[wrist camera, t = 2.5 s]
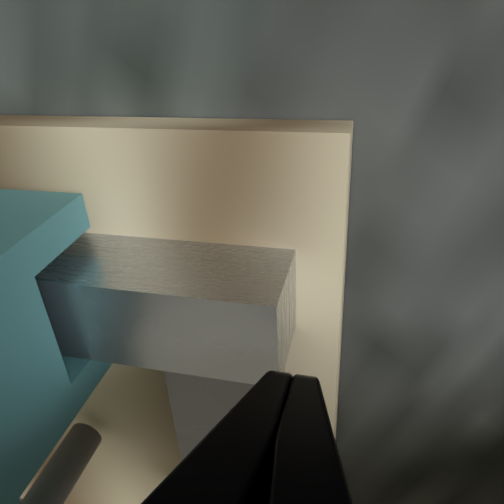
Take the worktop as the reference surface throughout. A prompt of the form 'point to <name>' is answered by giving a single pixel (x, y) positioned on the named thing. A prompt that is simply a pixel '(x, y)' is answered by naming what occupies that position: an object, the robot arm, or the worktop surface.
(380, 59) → the worktop surface
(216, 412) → the fixed leg
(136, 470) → the template board
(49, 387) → the sliding leg
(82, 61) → the worktop surface
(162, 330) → the rail
